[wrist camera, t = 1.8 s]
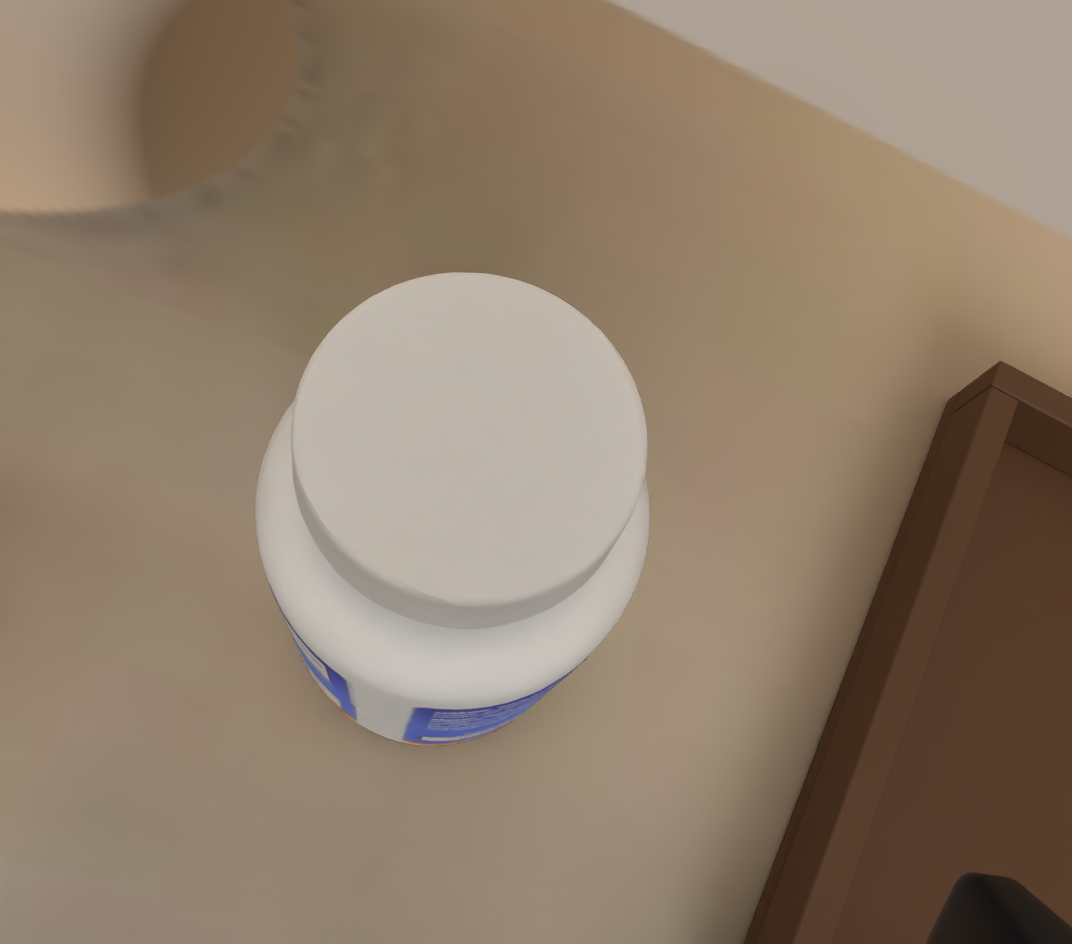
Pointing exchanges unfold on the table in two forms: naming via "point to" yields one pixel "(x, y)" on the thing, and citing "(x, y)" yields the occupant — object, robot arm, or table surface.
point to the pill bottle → (454, 504)
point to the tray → (949, 693)
